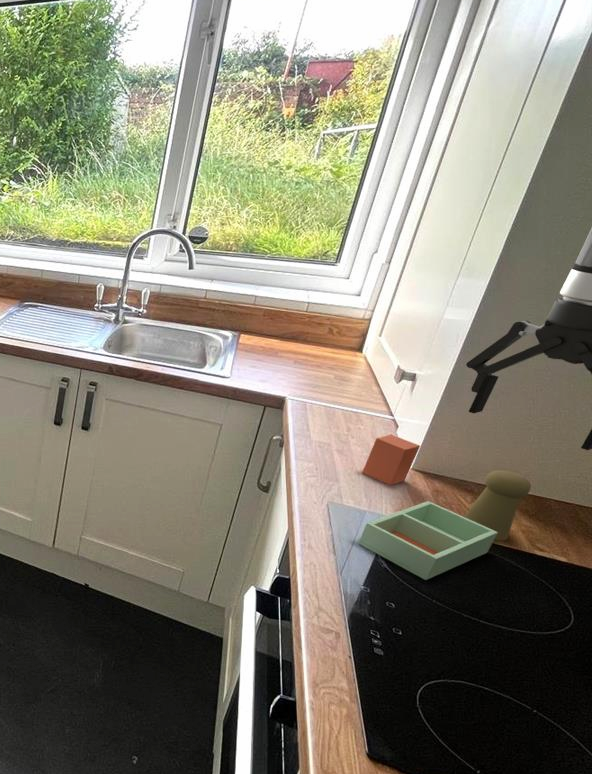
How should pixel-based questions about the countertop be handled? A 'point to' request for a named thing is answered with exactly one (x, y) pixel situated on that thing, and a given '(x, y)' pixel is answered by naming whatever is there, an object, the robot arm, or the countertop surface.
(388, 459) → the terracotta block
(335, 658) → the countertop surface
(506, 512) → the cork
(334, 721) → the countertop surface
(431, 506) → the sorting tray
